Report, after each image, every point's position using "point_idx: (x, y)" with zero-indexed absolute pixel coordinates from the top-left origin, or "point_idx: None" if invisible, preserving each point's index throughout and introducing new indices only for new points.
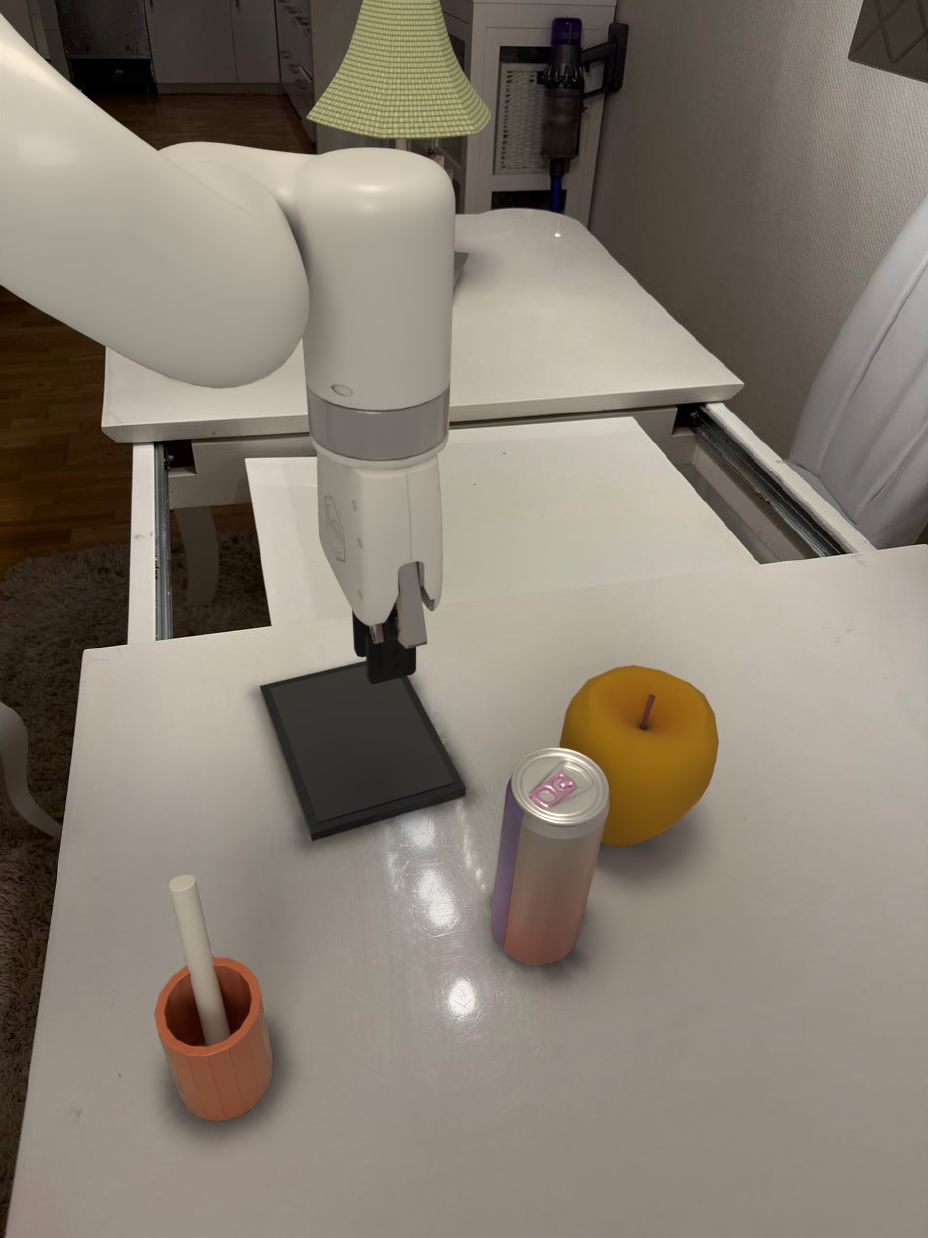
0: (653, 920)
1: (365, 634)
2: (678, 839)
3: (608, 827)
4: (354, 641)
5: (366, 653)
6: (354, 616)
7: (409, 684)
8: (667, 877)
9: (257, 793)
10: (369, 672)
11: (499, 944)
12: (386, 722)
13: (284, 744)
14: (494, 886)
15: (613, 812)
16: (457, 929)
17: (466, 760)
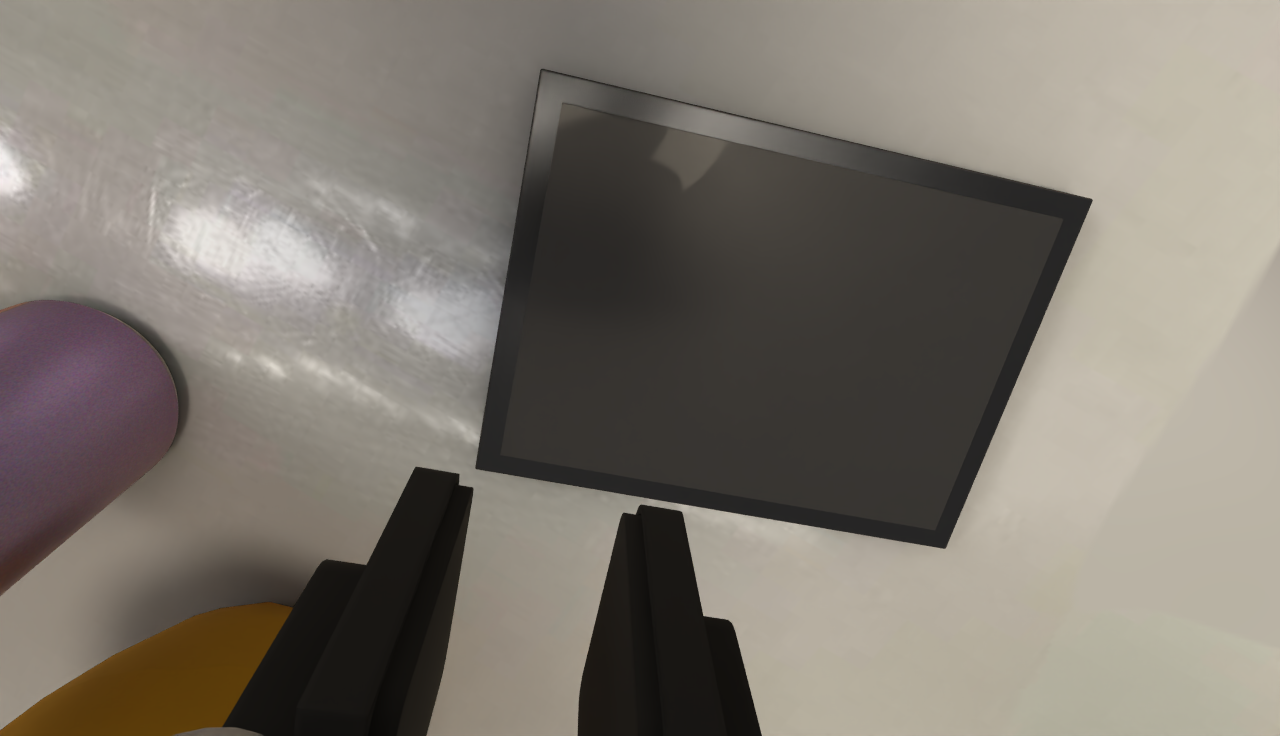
0: (24, 587)
1: (353, 717)
2: None
3: (82, 676)
4: (671, 553)
5: (403, 583)
6: (666, 716)
7: (834, 525)
8: None
9: (769, 16)
10: (398, 506)
11: (44, 301)
12: (758, 419)
13: (857, 156)
14: (22, 366)
15: (1, 733)
16: (151, 247)
17: (571, 509)
